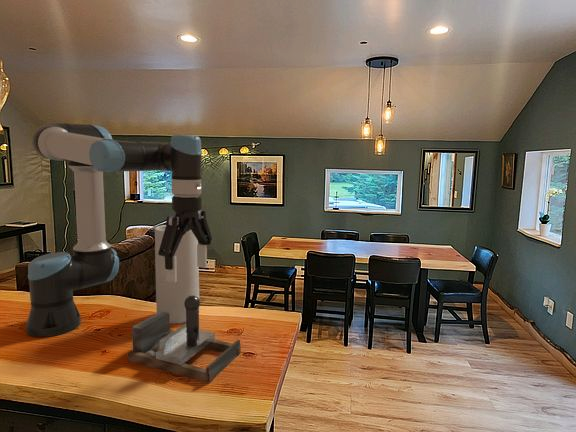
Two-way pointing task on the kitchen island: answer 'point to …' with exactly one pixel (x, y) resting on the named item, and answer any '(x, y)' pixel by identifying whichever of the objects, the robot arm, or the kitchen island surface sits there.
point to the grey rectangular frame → (145, 340)
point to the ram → (185, 337)
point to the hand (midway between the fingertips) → (187, 273)
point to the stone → (156, 346)
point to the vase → (187, 284)
